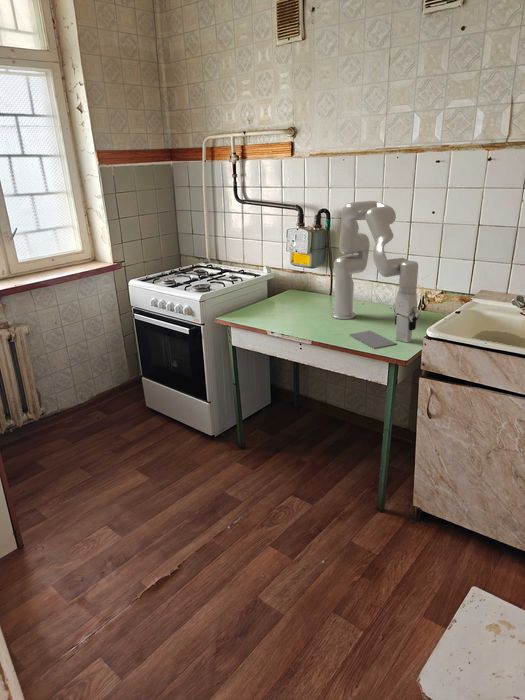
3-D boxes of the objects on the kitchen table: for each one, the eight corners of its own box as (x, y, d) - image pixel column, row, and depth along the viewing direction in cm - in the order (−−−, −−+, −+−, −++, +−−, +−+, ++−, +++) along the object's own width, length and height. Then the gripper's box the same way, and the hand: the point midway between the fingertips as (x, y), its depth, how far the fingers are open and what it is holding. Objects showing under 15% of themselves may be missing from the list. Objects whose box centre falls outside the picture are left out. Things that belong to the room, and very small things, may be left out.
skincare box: (411, 340, 226) (414, 315, 222) (406, 343, 223) (409, 317, 219) (399, 337, 230) (401, 312, 226) (394, 340, 227) (396, 314, 223)
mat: (348, 335, 235) (348, 334, 235) (370, 331, 239) (370, 330, 239) (374, 349, 218) (374, 347, 217) (396, 344, 222) (396, 343, 222)
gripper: (388, 286, 224) (386, 323, 230) (413, 294, 209) (411, 333, 215) (401, 284, 227) (399, 320, 233) (428, 292, 212) (424, 330, 218)
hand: (405, 326), depth 224 cm, fingers open, 9 cm apart
